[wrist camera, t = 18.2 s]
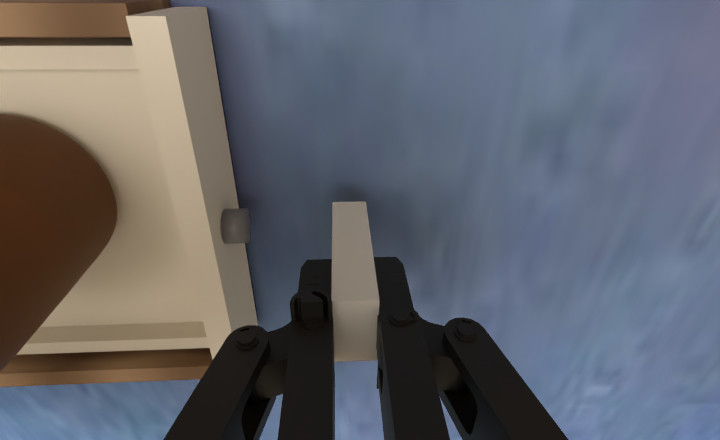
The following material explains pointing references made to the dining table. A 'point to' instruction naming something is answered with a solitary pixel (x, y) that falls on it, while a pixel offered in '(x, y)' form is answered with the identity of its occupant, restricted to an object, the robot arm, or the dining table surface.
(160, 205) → the drawer
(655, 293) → the dining table surface
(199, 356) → the frame
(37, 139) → the mug
